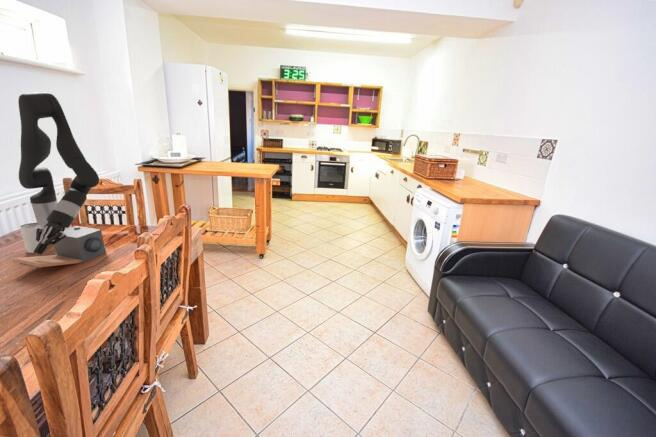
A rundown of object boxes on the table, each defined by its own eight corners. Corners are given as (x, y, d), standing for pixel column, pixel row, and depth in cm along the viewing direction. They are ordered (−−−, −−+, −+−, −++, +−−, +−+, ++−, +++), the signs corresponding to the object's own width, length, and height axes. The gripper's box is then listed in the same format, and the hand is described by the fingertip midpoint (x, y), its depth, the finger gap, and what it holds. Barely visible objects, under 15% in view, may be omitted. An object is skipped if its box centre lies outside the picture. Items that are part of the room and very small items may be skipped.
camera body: (109, 253, 131) (104, 228, 128) (87, 263, 122) (80, 237, 118) (81, 248, 135) (75, 224, 131) (57, 257, 126) (50, 232, 122)
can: (34, 254, 128) (26, 228, 124) (23, 252, 129) (14, 226, 125) (50, 248, 134) (43, 223, 130) (39, 246, 135) (32, 221, 131)
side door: (82, 259, 122) (40, 263, 108) (82, 264, 122) (40, 269, 108) (57, 254, 125) (13, 258, 111) (56, 259, 125) (12, 263, 111)
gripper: (42, 207, 118) (14, 247, 111) (68, 211, 115) (40, 252, 108) (60, 216, 125) (34, 254, 118) (84, 220, 122) (59, 259, 115)
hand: (37, 253), depth 113 cm, fingers closed
